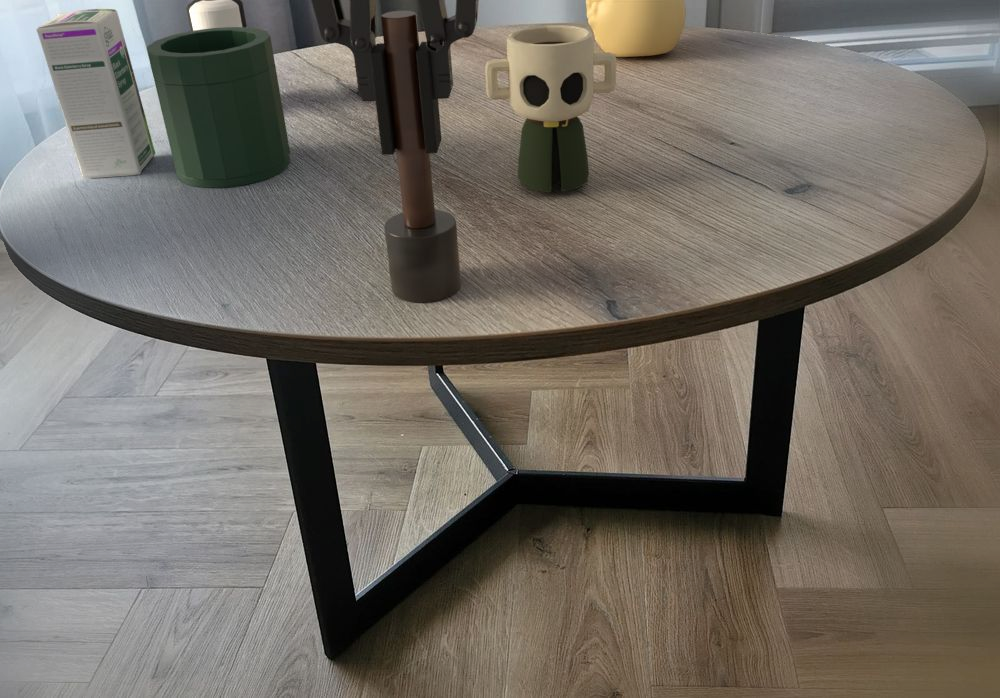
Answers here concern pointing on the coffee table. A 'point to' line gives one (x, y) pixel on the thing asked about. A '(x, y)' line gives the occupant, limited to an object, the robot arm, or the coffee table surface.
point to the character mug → (551, 100)
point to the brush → (415, 181)
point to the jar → (221, 105)
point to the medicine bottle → (215, 14)
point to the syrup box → (97, 92)
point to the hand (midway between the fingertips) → (412, 146)
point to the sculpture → (636, 25)
